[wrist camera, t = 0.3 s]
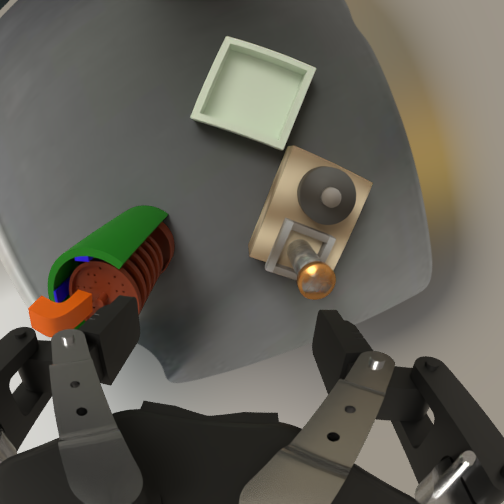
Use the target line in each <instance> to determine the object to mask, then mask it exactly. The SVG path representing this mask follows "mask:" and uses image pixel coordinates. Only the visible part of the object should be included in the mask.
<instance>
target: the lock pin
mask: <svg viewBox="0 0 504 504" xmlns="http://www.w3.org/2000/svg"><path fill="white" fill-rule="evenodd" d="M287 255H288V258H289V260H290V262H291V264H292V266H293V269H294V271H295V273H296V275H297V286H298V288H299V290H300V292H301V294H302V295H303V296H304V297H306V298H308V299H313V300H316V299H321V298H324V297H325V296H327V295H328V294H329V293H330V292H331V291H332V290H333V288H334V286H335V282H336V277H335V274H334V272H333V270H332V269H331V268H330V266H329V265H328V264H326V263H324V262H322V261H321V259H320V258H319V257H318V255H317V254H316V252H315V251H314V250H313V248H312V247H311V246H310V244H309V243H308V242H307V241H306V240H303V239H297V240H294V241H292V242H291V243H290V244H289V246H288V248H287Z"/></svg>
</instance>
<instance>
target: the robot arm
mask: <svg viewBox="0 0 504 504" xmlns="http://www.w3.org/2000/svg"><path fill="white" fill-rule="evenodd" d="M139 337H140V324H139V314H138V303H137V299H136V297H131V296H122V295H119V296H118V297H117V298H116V299H115V300H114V301H113V302H112V303H111V304H108V305H106V306H103V307H101V308H99V309H98V310H97V311H96V312H95V313H94V314H93V315H92V316H91V317H90V319H88V320H87V321H86V322H85V323H84V324H83V325H81V326H80V327H79V328H78V329H77V330H76V329H66V330H62V331H59V332H57V333H56V334H54V335H53V337H52V339H51V341H41V340H37V337H36V333H35V331H34V330H33V329H32V328H28V327H21V328H16V329H14V330H12V331H10V332H9V333H8V334H7V335H6V336H4V337H3V338H2V339H1V340H0V504H501V503H502V502H503V501H504V437H503V436H502V435H501V433H500V432H499V431H498V429H497V428H496V427H495V425H494V424H493V423H492V421H491V420H490V419H489V417H488V416H487V415H486V414H485V412H484V411H483V410H482V409H481V407H480V406H479V405H478V403H477V402H476V401H475V400H474V398H473V397H472V396H471V395H470V394H469V392H468V391H467V390H466V389H465V387H464V386H463V385H462V384H461V383H460V381H459V380H458V379H457V378H456V377H455V376H454V374H453V373H452V372H451V371H450V370H449V369H448V367H447V366H446V365H445V364H444V363H443V362H442V361H440V360H438V359H436V358H433V357H426V356H425V357H420V358H418V359H417V360H416V361H415V363H414V366H413V368H406V367H397V366H395V362H394V360H393V359H392V358H391V357H390V356H388V355H387V354H384V353H381V352H378V351H373V350H372V349H371V347H370V345H369V344H368V343H367V341H366V340H365V339H364V338H363V336H362V334H361V333H360V332H359V330H358V329H357V328H356V326H355V325H353V324H352V323H350V322H349V321H344V320H343V319H342V317H341V316H340V314H339V313H338V311H337V310H319V312H318V316H317V321H316V327H315V332H314V337H313V343H312V350H313V355H314V357H315V361H316V363H317V366H318V368H319V371H320V374H321V376H322V379H323V382H324V384H325V387H326V390H327V393H328V396H327V397H326V399H325V400H324V402H323V403H322V404H321V406H320V407H319V408H318V410H317V411H316V412H315V413H314V415H313V416H312V417H311V419H310V420H309V421H308V422H307V424H306V425H305V426H304V427H303V429H301V428H298V427H296V426H293V425H290V424H286V423H281V422H279V420H278V413H254V412H253V413H252V412H242V413H234V414H225V415H216V416H206V415H202V414H199V413H196V412H192V411H189V410H186V409H183V408H180V407H177V406H172V405H166V404H160V403H153V402H148V401H143V404H142V406H141V409H134V410H125V411H120V412H116V413H113V414H112V413H111V410H110V408H109V405H108V403H107V400H106V398H105V395H104V392H103V390H102V387H101V384H100V383H103V384H107V385H112V383H113V381H114V379H115V378H116V376H117V374H118V373H119V371H120V370H121V368H122V366H123V365H124V363H125V362H126V360H127V358H128V357H129V355H130V353H131V352H132V350H133V349H134V347H135V345H136V344H137V342H138V340H139ZM17 371H18V372H19V374H20V377H21V379H22V383H21V384H20V385H19V386H18V388H17V389H16V390H15V391H14V393H13V394H11V391H10V388H9V383H10V379H11V378H12V376H13V375H14V374H15V373H16V372H17ZM51 397H53V404H54V411H55V416H56V422H57V427H58V431H59V438H57V439H55V440H52V441H50V442H48V443H45V444H43V445H40V446H38V447H35V448H32V449H30V450H27V451H25V452H22V453H19V454H17V451H18V449H19V447H20V445H21V444H22V442H23V440H24V439H25V437H26V435H27V434H28V432H29V430H30V429H31V427H32V426H33V424H34V423H35V421H36V419H37V418H38V416H39V415H40V413H41V412H42V410H43V408H44V407H45V406H46V404H47V403H48V401H49V400H50V398H51ZM429 407H430V408H431V410H432V411H433V413H434V417H435V420H434V425H433V423H432V422H431V420H430V418H429V417H428V415H427V411H428V409H429ZM375 419H379V420H391V422H392V424H393V426H394V429H395V431H396V433H397V435H398V437H399V439H400V442H401V444H402V446H403V449H404V450H405V453H406V455H407V457H408V460H409V462H410V464H411V467H412V469H413V471H414V474H415V476H416V479H417V481H418V483H419V485H418V486H417V488H416V491H415V499H414V498H412V497H411V496H409V495H407V494H405V493H403V492H402V491H400V490H398V489H396V488H394V487H392V486H391V485H389V484H387V483H385V482H384V481H382V480H380V479H379V478H377V477H375V476H374V475H372V474H370V473H368V472H367V471H365V470H364V469H362V468H361V467H359V466H357V465H356V464H354V462H355V461H356V458H357V456H358V455H359V453H360V451H361V449H362V447H363V445H364V443H365V441H366V439H367V436H368V434H369V432H370V430H371V428H372V425H373V423H374V421H375Z"/></svg>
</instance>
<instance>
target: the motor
mask: <svg viewBox="0 0 504 504" xmlns="http://www.w3.org/2000/svg"><path fill="white" fill-rule="evenodd" d="M167 216H168V214H167V213H166V212H164V211H163V210H161V209H159V208H156V207H152V206H137V207H133V208H131V209H129V210H127V211H125V212H124V213H122V214H121V215H119V216H117V217H116V218H114V219H113V220H111V221H110V222H108V223H107V224H105V225H104V226H102V227H101V228H99V229H98V230H96V231H95V232H93V233H92V234H90V235H89V236H87V237H86V238H84V239H83V240H81V241H80V242H79V243H77V244H76V245H74V246H73V247H72V248H70V249H69V250H67V251H66V252H65V253H63V254H62V255H61V256H60V257H59V258H58V259H57V260H56V261H55V262H54V264H53V266H52V268H51V270H50V273H49V278H48V294H49V299H50V300H49V299H47V298H45V297H43V296H41V297H40V298H38V299H37V300H36V301H35V302H34V303H33V304H32V305H31V306H30V307H29V308H28V310H29V315H30V320H31V325H32V328H34V329H35V330H37V331H38V332H40V333H42V334H44V335H46V336H48V337H53V335H54V334H56V333H57V332H59V331H62V330H66V329H76V330H77V329H78V328H79V327H80V326H81V325H83V324H84V323H85V322H86V321H87V320H88V319H90V317H91V316H92V315H93V314H94V313H95V312H96V311H97V310H98V309H99V308H101V307H103V306H106V305H108V304H111V303H112V302H113V301H114V300H115V299H116V298H117V297H118V296H119V295H122V296H131V297H136V299H137V303H138V314H140V312H141V310H142V308H143V306H144V304H145V302H146V300H147V298H148V296H149V294H150V292H151V291H152V289H153V287H154V285H155V283H156V281H157V279H158V277H159V276H160V274H161V273H163V272H164V271H165V269H166V268H167V266H168V265H169V263H170V261H171V259H172V257H173V254H174V248H175V244H174V238H173V235H172V233H171V231H170V230H169V228H168V227H167V226H166V225H165V224H164V223H163V222H162V221H163V220H164V219H165V218H166V217H167Z"/></svg>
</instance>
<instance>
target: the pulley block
mask: <svg viewBox="0 0 504 504" xmlns="http://www.w3.org/2000/svg"><path fill="white" fill-rule="evenodd" d="M372 184H373V183H372V182H370V181H368V180H366V179H364V178H362V177H360V176H359V175H357V174H355V173H353V172H351V171H349V170H347V169H344V168H342V167H340V166H338V165H336V164H334V163H332V162H330V161H328V160H326V159H323V158H321V157H319V156H317V155H315V154H312V153H310V152H308V151H305V150H303V149H301V148H298V147H296V146H287V149H286V151H285V154H284V156H283V159H282V161H281V164H280V166H279V169H278V171H277V174H276V176H275V179H274V181H273V184H272V186H271V189H270V191H269V194H268V196H267V199H266V201H265V204H264V206H263V209H262V211H261V214H260V216H259V219H258V222H257V224H256V227H255V229H254V232H253V234H252V237H251V239H250V242H249V244H248V247H249V256H250V257H252V258H255V259H258V260H261V261H264V262H266V264H265V270H266V271H269V272H272V273H275V274H278V275H281V276H285V277H288V278H291V279H294V280H297V275H296V273H295V271H294V269H293V266H292V264H291V262H290V260H289V258H288V255H287V248H288V246H289V244H290V243H291V242H292V241H294V240H297V239H303V240H306V241H307V242H308V243H309V244H310V246H311V247H312V248H313V250H314V251H315V252H316V254H317V255H318V257H319V258H320V259H321V261H322V262H324V263H326V264H328V265H329V266H330V268H331V269H332V270H334V268H335V266H336V264H337V262H338V260H339V258H340V256H341V254H342V252H343V250H344V247H345V245H346V243H347V241H348V239H349V237H350V235H351V232H352V230H353V228H354V226H355V224H356V221H357V219H358V217H359V215H360V212H361V210H362V208H363V205H364V203H365V201H366V198H367V196H368V194H369V191H370V189H371V186H372Z"/></svg>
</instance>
